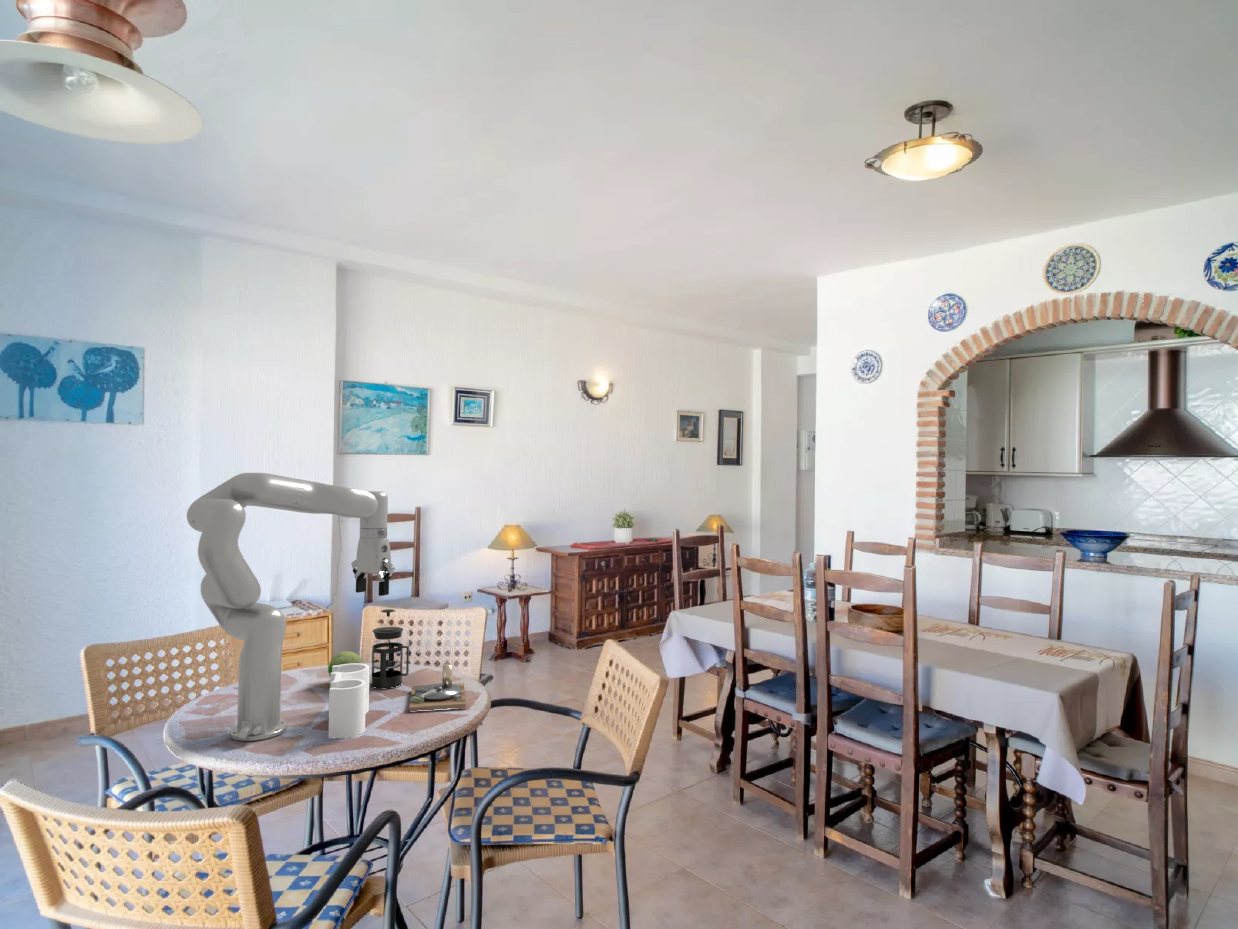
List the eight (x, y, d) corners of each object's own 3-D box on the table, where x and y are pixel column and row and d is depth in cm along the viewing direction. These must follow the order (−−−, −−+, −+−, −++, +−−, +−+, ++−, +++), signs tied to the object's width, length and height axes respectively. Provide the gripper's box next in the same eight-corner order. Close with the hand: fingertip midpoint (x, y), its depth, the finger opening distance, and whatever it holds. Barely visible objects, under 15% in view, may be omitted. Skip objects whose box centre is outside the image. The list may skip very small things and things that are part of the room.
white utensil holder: (367, 736, 173) (368, 687, 174) (324, 740, 170) (325, 690, 171) (369, 705, 197) (369, 661, 197) (331, 708, 194) (332, 664, 194)
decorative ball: (367, 680, 221) (367, 648, 221) (353, 689, 211) (354, 656, 211) (336, 679, 221) (337, 647, 222) (321, 688, 211) (322, 655, 212)
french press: (364, 689, 211) (365, 612, 212) (373, 680, 221) (375, 606, 221) (403, 689, 212) (405, 612, 212) (411, 680, 221) (413, 607, 222)
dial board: (465, 709, 195) (465, 700, 195) (409, 712, 191) (409, 703, 191) (463, 688, 214) (464, 679, 214) (412, 690, 210) (412, 682, 210)
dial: (442, 703, 193) (442, 678, 193) (402, 698, 198) (403, 673, 198) (469, 689, 206) (470, 665, 207) (432, 684, 211) (432, 661, 211)
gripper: (404, 534, 202) (403, 594, 201) (364, 531, 211) (362, 589, 210) (383, 536, 195) (382, 598, 195) (342, 533, 204) (341, 592, 204)
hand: (372, 593), depth 203 cm, fingers open, 9 cm apart
